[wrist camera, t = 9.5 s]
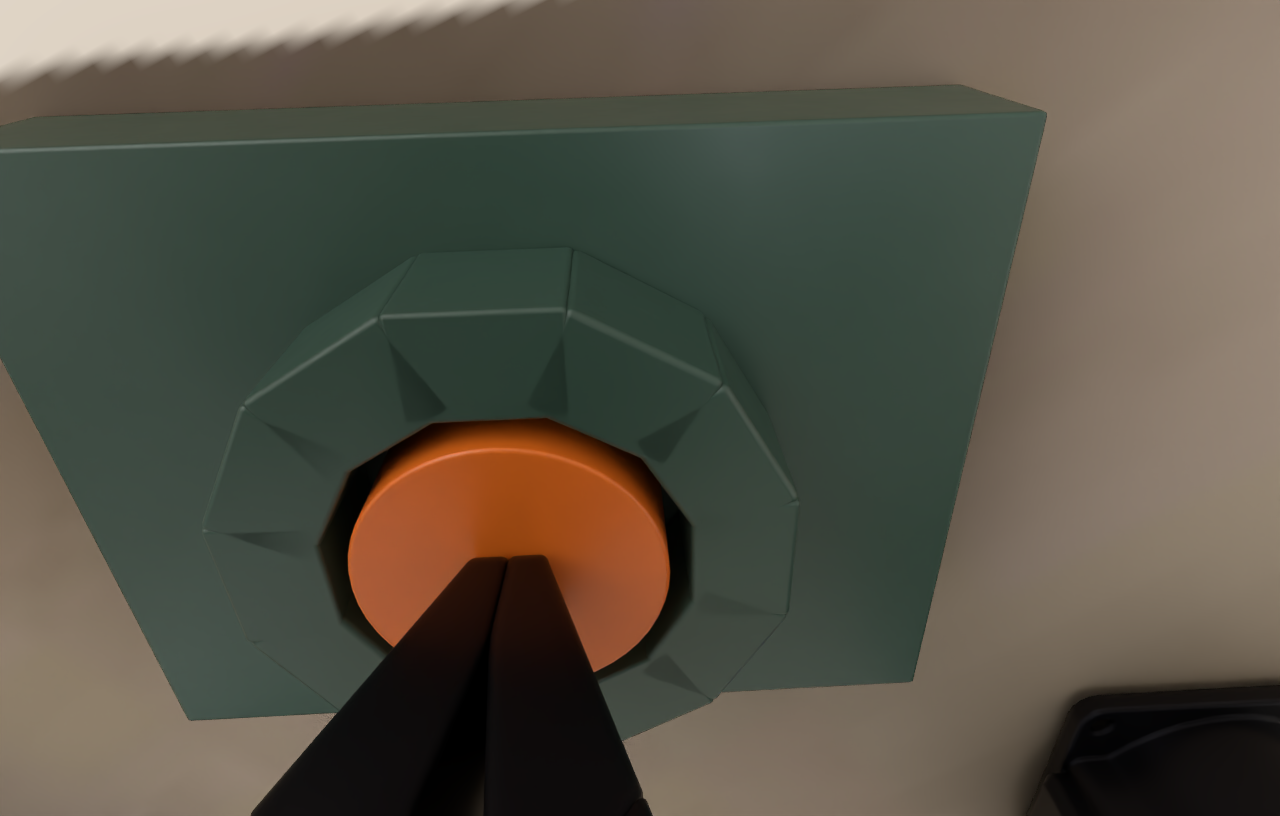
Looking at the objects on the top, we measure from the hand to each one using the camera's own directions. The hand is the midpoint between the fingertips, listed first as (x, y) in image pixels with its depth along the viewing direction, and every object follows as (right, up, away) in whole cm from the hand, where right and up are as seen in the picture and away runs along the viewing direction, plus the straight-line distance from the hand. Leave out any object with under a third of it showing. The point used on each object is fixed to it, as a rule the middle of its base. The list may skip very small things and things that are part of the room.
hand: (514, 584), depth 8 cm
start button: (0, +1, +1) cm, 2 cm away
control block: (0, +2, +3) cm, 4 cm away
